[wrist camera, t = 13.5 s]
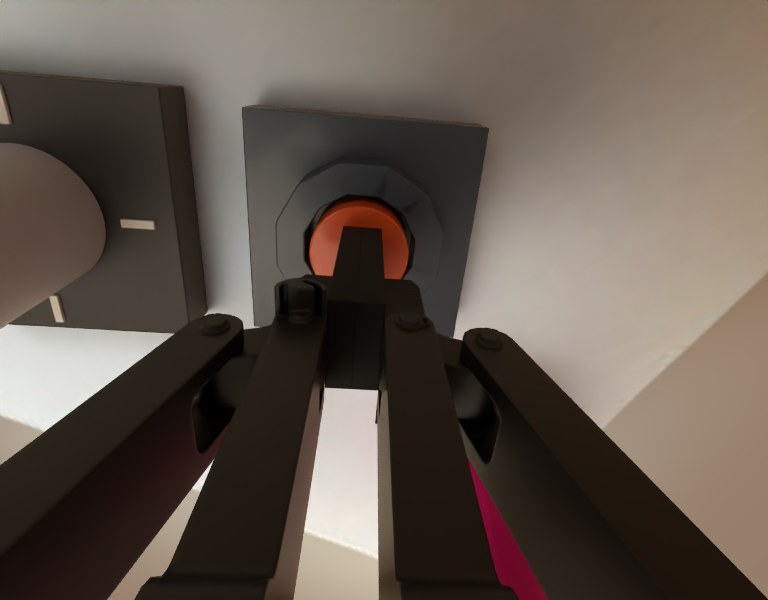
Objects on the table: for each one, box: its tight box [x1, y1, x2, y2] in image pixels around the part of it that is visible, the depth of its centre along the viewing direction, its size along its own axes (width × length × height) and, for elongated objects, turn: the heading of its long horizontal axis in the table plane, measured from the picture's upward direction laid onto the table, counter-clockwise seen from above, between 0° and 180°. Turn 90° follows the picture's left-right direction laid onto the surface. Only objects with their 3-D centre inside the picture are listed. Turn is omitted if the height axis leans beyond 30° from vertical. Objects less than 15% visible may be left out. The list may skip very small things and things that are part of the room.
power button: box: [309, 195, 409, 279], centre depth 19 cm, size 4×4×2 cm
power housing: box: [242, 105, 489, 338], centre depth 20 cm, size 10×10×4 cm
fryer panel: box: [0, 70, 207, 334], centre depth 20 cm, size 12×11×3 cm
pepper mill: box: [467, 456, 548, 600], centre depth 19 cm, size 7×7×20 cm
